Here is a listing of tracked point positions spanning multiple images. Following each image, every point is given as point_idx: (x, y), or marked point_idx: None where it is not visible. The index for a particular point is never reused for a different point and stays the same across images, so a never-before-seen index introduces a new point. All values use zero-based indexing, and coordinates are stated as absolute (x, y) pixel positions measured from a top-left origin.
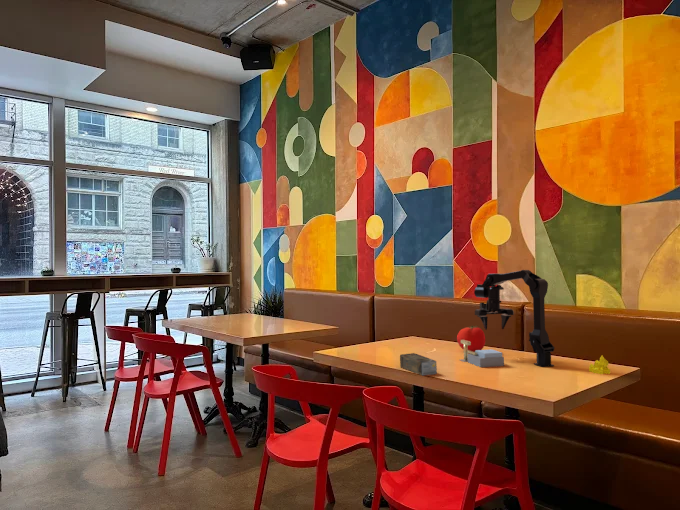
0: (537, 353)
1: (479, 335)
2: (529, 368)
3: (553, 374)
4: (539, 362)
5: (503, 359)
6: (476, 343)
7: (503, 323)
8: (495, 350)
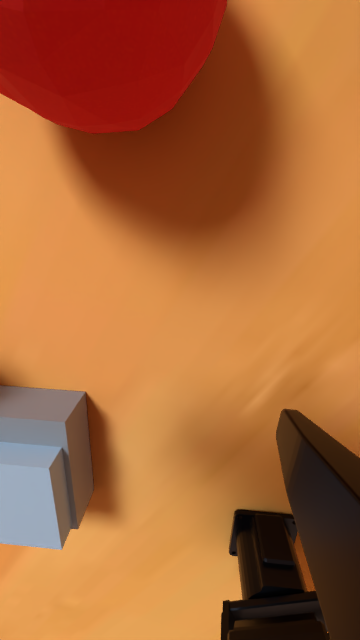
0: (245, 589)
1: (69, 72)
2: (167, 546)
3: (184, 616)
4: (237, 551)
5: (80, 517)
6: (67, 125)
7: (320, 553)
8: (53, 498)
